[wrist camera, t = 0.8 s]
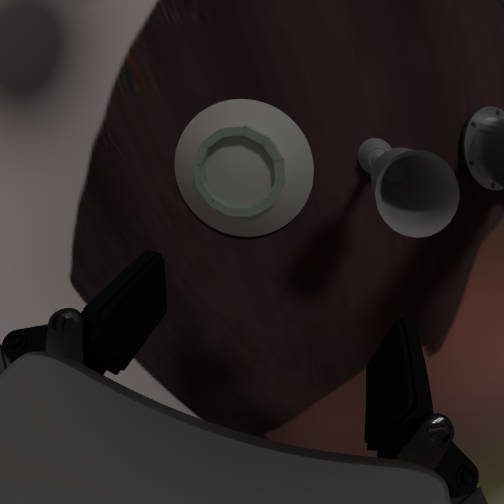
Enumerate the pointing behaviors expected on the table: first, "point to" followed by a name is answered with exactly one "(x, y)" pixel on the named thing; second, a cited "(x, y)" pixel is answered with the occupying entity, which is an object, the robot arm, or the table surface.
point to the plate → (244, 167)
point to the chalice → (410, 187)
